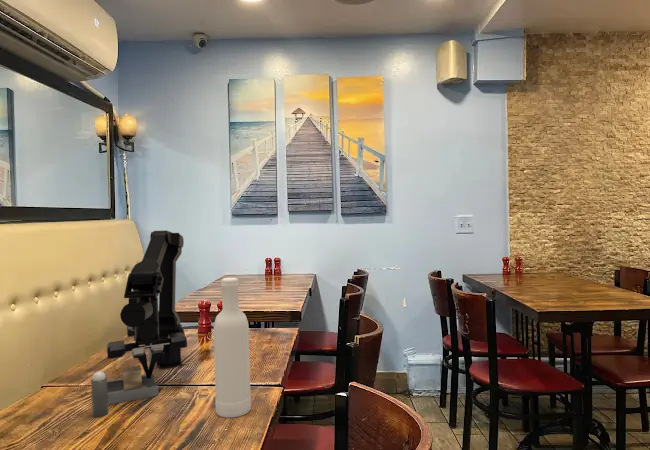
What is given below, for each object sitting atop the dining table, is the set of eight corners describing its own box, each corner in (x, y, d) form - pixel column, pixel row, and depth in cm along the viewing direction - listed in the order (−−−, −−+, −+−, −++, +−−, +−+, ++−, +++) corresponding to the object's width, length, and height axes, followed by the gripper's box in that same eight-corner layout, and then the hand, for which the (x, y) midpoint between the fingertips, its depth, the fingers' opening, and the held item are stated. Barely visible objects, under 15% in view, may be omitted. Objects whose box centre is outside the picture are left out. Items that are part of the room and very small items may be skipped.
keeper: (140, 384, 120) (139, 365, 120) (141, 390, 116) (141, 370, 116) (123, 387, 119) (122, 367, 119) (124, 393, 115) (123, 372, 115)
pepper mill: (108, 410, 107) (106, 368, 107) (108, 415, 105) (106, 372, 104) (92, 413, 106) (90, 370, 106) (92, 418, 103) (90, 375, 103)
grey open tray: (153, 382, 125) (153, 362, 124) (158, 395, 116) (157, 373, 115) (95, 392, 118) (94, 371, 118) (95, 407, 109) (94, 383, 109)
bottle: (257, 405, 108) (254, 276, 107) (240, 420, 101) (236, 281, 100) (227, 401, 111) (223, 275, 110) (208, 415, 103) (204, 280, 102)
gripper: (178, 307, 130) (180, 363, 131) (105, 316, 122) (107, 375, 122) (186, 315, 120) (188, 375, 121) (106, 324, 112) (108, 389, 112)
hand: (148, 378), depth 119 cm, fingers closed
